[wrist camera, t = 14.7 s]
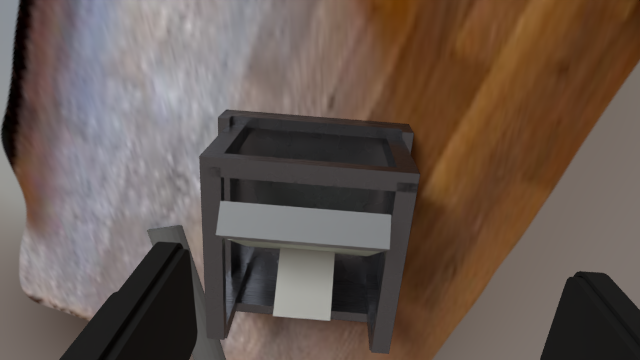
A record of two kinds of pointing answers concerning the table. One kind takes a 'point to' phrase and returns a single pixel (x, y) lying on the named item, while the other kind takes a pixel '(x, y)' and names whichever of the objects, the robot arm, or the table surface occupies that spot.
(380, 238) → the trapdoor
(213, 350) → the gray half cylinder
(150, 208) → the table surface
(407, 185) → the trapdoor frame
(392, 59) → the table surface
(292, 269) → the matte off-white cube
